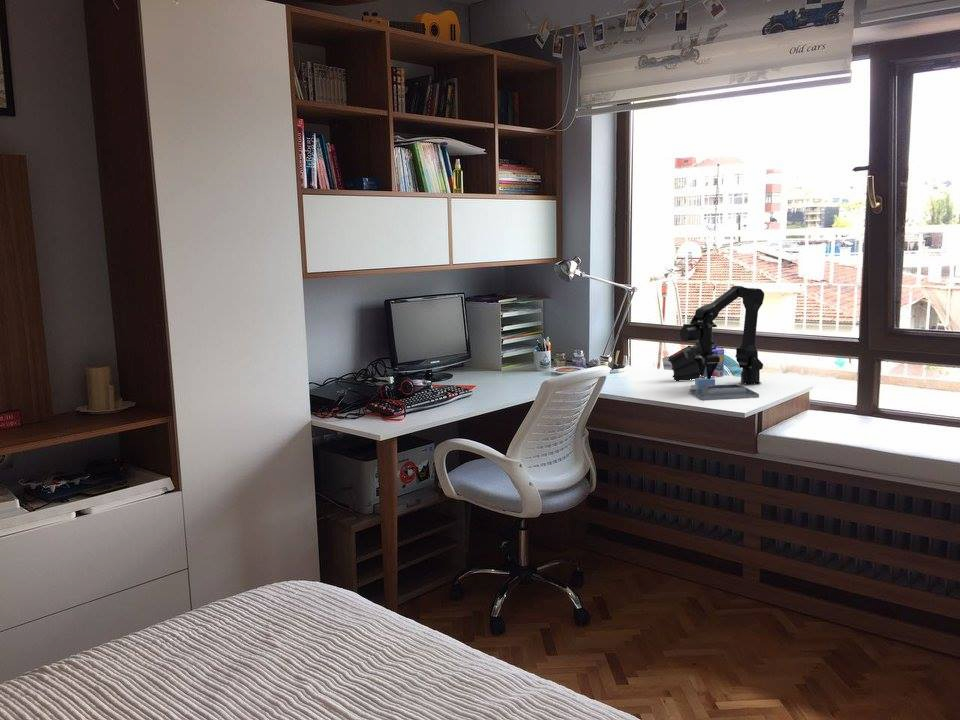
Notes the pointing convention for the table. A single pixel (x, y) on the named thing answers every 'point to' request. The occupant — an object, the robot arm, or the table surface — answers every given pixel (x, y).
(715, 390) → the chassis
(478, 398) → the table surface
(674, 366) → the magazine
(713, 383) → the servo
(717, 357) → the robot arm
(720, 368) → the ink cartridge box
